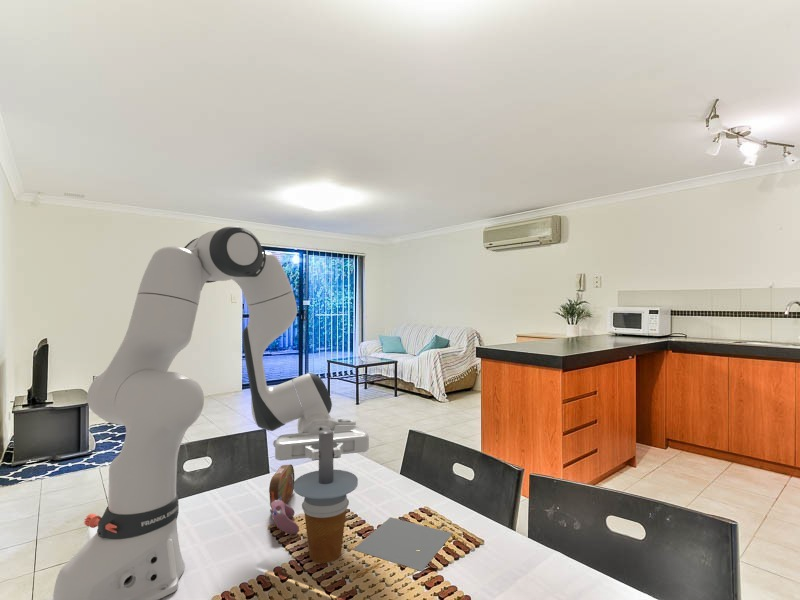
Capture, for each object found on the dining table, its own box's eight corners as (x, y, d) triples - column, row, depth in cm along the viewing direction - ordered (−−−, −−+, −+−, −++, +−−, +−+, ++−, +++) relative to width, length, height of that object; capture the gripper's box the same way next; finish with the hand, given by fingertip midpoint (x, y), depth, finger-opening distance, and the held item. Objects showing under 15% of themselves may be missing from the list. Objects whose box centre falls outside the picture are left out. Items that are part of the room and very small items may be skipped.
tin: (279, 515, 107) (279, 480, 107) (266, 515, 107) (267, 480, 107) (295, 490, 122) (295, 459, 122) (284, 490, 122) (284, 459, 122)
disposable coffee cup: (305, 574, 82) (305, 510, 83) (298, 549, 91) (298, 491, 92) (354, 564, 86) (354, 502, 86) (342, 540, 95) (342, 485, 95)
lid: (332, 504, 80) (332, 446, 81) (279, 490, 86) (279, 436, 87) (369, 479, 92) (369, 428, 92) (321, 469, 98) (321, 421, 98)
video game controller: (278, 524, 105) (265, 500, 104) (295, 513, 107) (282, 489, 106) (282, 544, 96) (267, 518, 95) (301, 532, 97) (287, 506, 96)
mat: (422, 573, 83) (422, 571, 83) (352, 551, 90) (352, 549, 90) (452, 535, 97) (452, 533, 97) (390, 519, 104) (390, 517, 104)
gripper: (273, 426, 99) (273, 444, 85) (361, 419, 105) (374, 435, 91) (273, 454, 99) (273, 476, 85) (361, 445, 104) (374, 465, 91)
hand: (326, 455), depth 88 cm, fingers closed on lid, 3 cm apart
